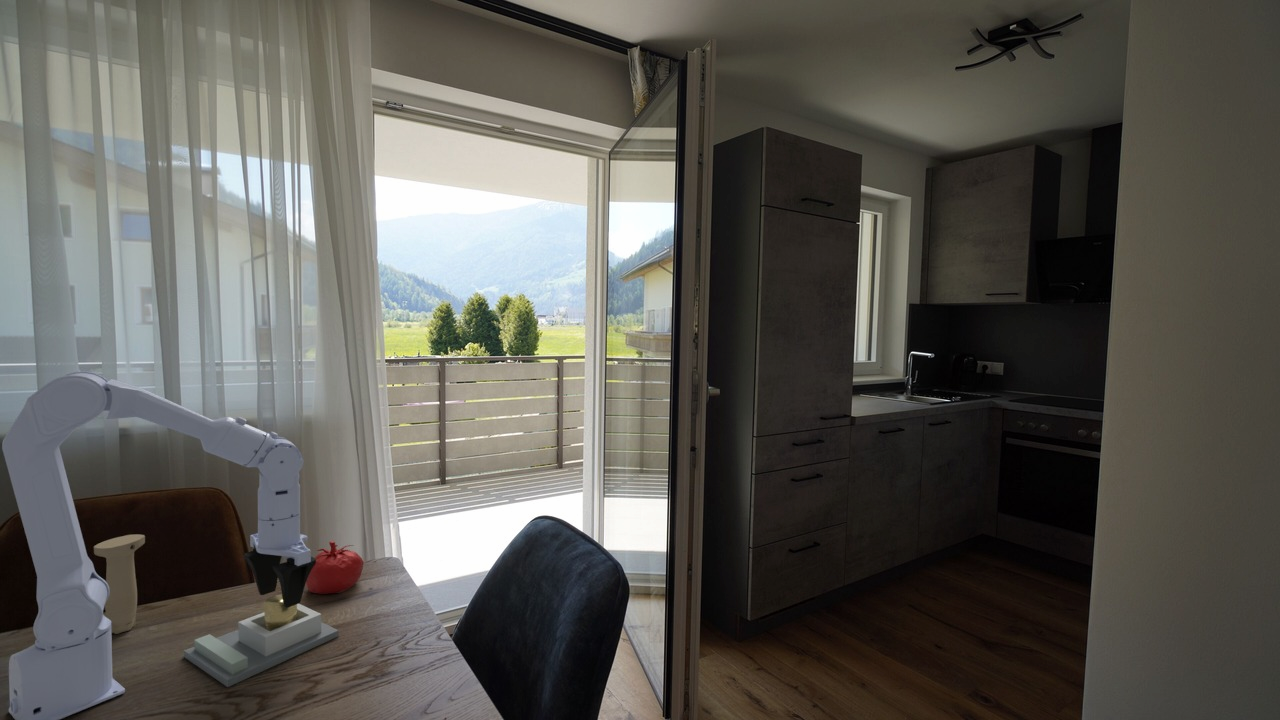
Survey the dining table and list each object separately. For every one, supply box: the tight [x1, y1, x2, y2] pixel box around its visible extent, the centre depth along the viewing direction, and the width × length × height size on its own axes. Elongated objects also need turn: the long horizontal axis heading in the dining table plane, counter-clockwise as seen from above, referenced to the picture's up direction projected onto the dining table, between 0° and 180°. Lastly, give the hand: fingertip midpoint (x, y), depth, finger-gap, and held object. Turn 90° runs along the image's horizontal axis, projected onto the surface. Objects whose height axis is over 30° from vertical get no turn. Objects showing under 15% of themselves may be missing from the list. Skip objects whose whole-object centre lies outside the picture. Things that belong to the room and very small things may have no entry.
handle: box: [93, 533, 146, 635], centre depth 93 cm, size 5×6×15 cm
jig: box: [183, 603, 339, 688], centre depth 89 cm, size 16×14×4 cm
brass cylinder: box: [263, 593, 297, 631], centre depth 90 cm, size 4×4×6 cm
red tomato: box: [305, 540, 364, 595], centre depth 110 cm, size 10×10×9 cm
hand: (279, 598), depth 90 cm, fingers open, 7 cm apart
